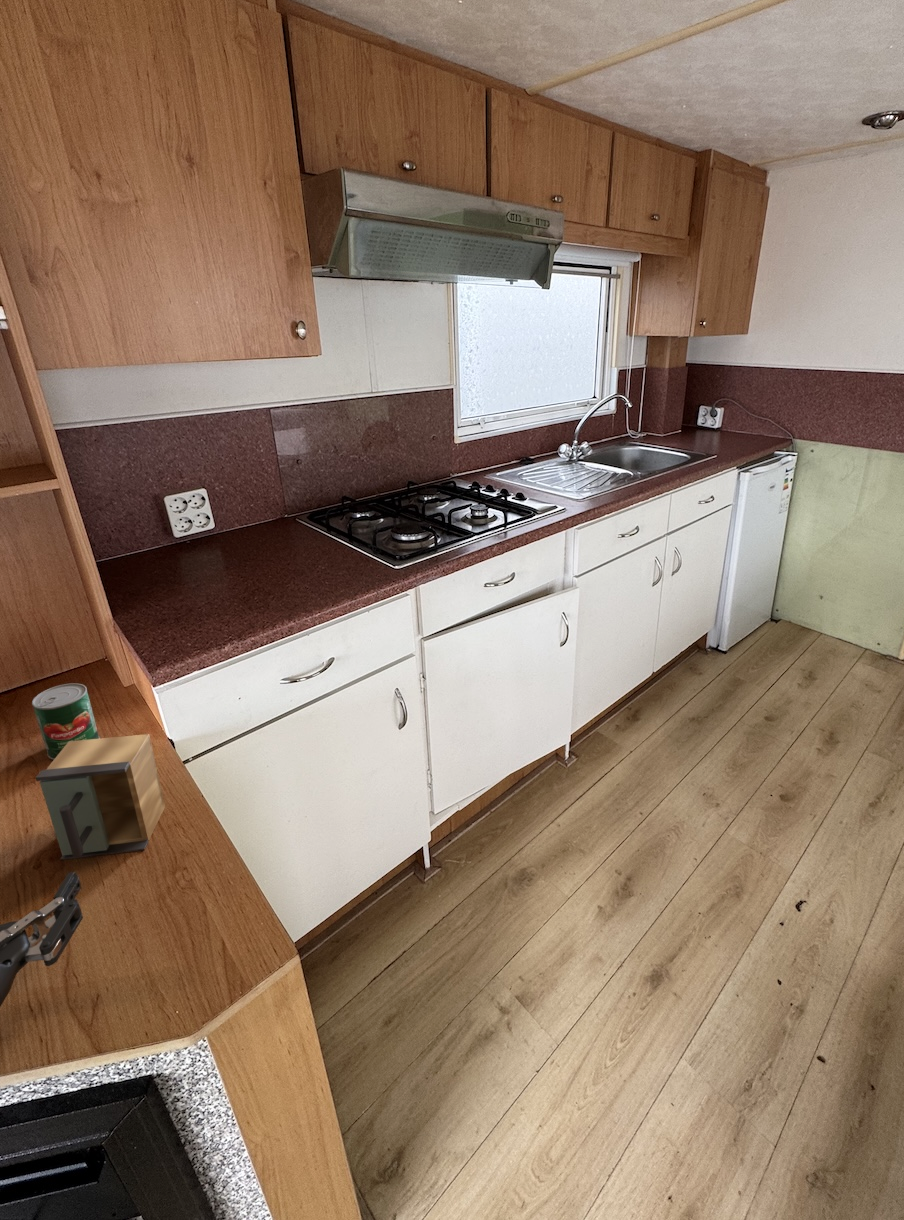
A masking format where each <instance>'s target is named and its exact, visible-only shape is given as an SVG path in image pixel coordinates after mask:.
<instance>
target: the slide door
mask: <svg viewBox="0 0 904 1220" xmlns="http://www.w3.org/2000/svg"><path fill="white" fill-rule="evenodd" d="M39 785H40V788H41V791H42V794H43V798H44V801H45V804H46V807H47V810H48V814H49V817H50V820H51V824H52V827H53V830H54V833H55V837H56V839H57V843H58V846H59V849H60V852H61V855H62V856H64V855H72V854H73V857H79V856H81V855H82V854H83V853H89V852H97V851H105V850H107V849H108V845H107V842H106V838H105V834H104V831H103V827H102V823H101V820H100V816H99V812H98V809H97V805H96V801H95V798H94V794H93V790H92V787H91V783H90V779H89V776H83V777H73V778H63V779H53V780H43V781H39ZM62 856H61V857H62Z"/></svg>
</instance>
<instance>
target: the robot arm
mask: <svg viewBox="0 0 904 1220" xmlns="http://www.w3.org/2000/svg"><path fill="white" fill-rule="evenodd" d="M81 889H82V883H81V880H80V877H79V875H78V873H77V872H76V871H71V872H67V874H66V875H65V877H64V879H63V881H62V882H61V884H60V886H59V887H58V889H57V891H56V892H55V894H54V895H53V897H52V899H53V900H51V901H50V902H48V903H47V904H45V906H43V907H42V908H40V909H39V910H32V911H30V912H29V913H27V914H26V915H25V916H23V917H22V918H21V919H19V920H13V921H8V922H5V923H2V924H0V1008H1V1007H2V1005H3V1003H4V1002H5V1000H6V999H7V996H8V995H9V993H10V991H11V989H12V986H13V983H14V982H15V978H16V976H17V974H18V973H19V972H20V971H21V970H22V969H23V968H24V967H25V966H26V965H27V964H28V963H29V962H38V961H39V962H40V961H43V963H44V965H45V967H51V966H53V965H55V964H56V963H57V962H58V960H59V959H60V957H61V955H62V954H63V952H64V950H65V949H66V947H67V946H68V944H69V942H70V940H71V939H72V937H73V936H74V934H75V932H76V930H77V929H78V927H79V925H80V923H81V922H82V921H83V919H84V915H83V912H82V909H81V906H80V903H79V900H78V899H76V897H77V895H78V894H79V892H80V891H81ZM52 914H53V915H52ZM50 915H52V916H50ZM49 916H50V917H49ZM48 917H49V918H48ZM47 918H48V919H47ZM31 926H32V930H33V932H32V934H31V935H30V936H29V935H28V934H27V931H26V930H27V929H28V928H29V927H31Z"/></svg>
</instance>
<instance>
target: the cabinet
mask: <svg viewBox="0 0 904 1220" xmlns="http://www.w3.org/2000/svg"><path fill="white" fill-rule="evenodd" d="M52 760H53V759H52ZM83 776H89V779H90V783H91V787H92V790H93V794H94V798H95V801H96V805H97V809H98V812H99V816H100V820H101V823H102V827H103V831H104V834H105V838H106V842H107V845H108V849H107V850H105V851H97V852H89V853H83V854H82V855H81V856H79V857H73V854H72V855H64V856H61V857H60V861H66V860H75V859H84V858H91V857H99V856H105V855H106V856H107V855H115V854H122V853H123V854H124V853H133V852H141V851H145V850H146V848H147V846H148V843H149V841H150V839H151V837H152V836H153V833H154V831H155V829H156V827H157V825H158V823H159V821H160V819H161V816H162V815H163V813H164V810H165V808H166V804H165V800H164V795H163V791H162V786H161V781H160V777H159V773H158V769H157V763H156V759H155V755H154V750H153V745H152V740H151V736H150V734H149V733H146V734H145V733H144V734H135V735H125V736H124V735H123V736H112V737H103V738H101V737H100V739H90V740H78V741H69V742H68V743H67V744H66V746H65V747H64V748H63V749H62V750H61V752H60V753H59V754H58V755H57V757H56V758H55V759H54V760H53V761H51V763H50V764H49V765H48V766H47V767H46V769H41V770H40V772H39V773H38V774H37V775H36V776H35V782H41V781H43V780H53V779H63V778H73V777H83Z"/></svg>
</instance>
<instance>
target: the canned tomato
mask: <svg viewBox="0 0 904 1220" xmlns="http://www.w3.org/2000/svg"><path fill="white" fill-rule="evenodd" d="M31 706H32V707H33V710H34V714H35V718H36V722H37V725H38V728H39V731H40V734H41V737H42V741H43V744H44V748H45V750H46V754H47V758H48V759H51V760H54V759H55V758H56V757H57V755H58V754H59V753H60V752H61V750H62V749H63V748H64V747H65V746H66V744H67V743H68V742H69V741H78V740H90V739H101V737H100V735H99V731H98V728H97V727H98V726H97V724H96V721H95V716H94V712H93V708H92V704H91V700H90V697H89V693H88V688H87V686H86V685H85V684H82V683H76V682H75V683H74V682H72V683H65V684H59V685H56V686H52V687H50V688H48V689H45V690H43V691H42V692H40V693H38V694H37V695H36V696H34V697H33V699H32V701H31Z"/></svg>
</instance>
